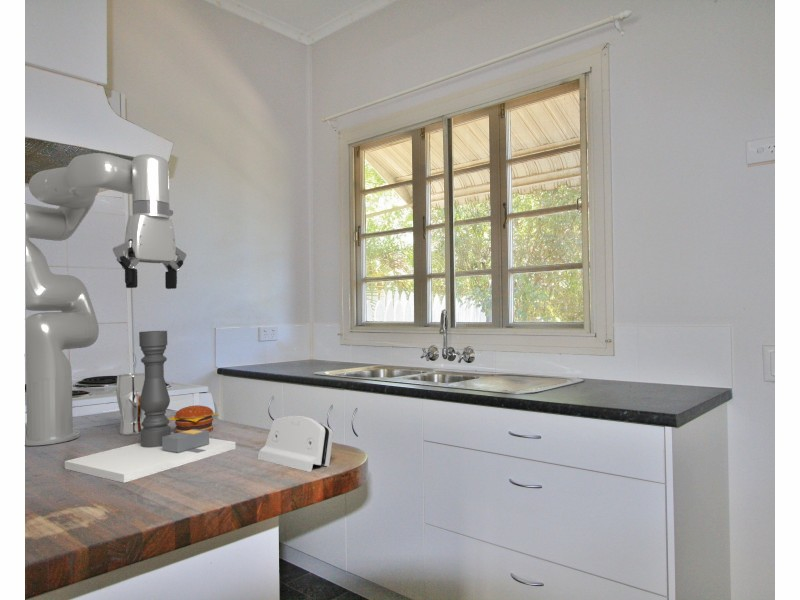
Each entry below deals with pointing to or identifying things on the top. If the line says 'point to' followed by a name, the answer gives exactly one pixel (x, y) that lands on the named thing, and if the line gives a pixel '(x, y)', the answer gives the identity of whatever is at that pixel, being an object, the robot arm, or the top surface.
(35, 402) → the robot arm
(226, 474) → the top surface
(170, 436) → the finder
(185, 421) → the hamburger
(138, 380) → the beer glass
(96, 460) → the white rectangular board
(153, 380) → the candle holder
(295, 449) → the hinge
